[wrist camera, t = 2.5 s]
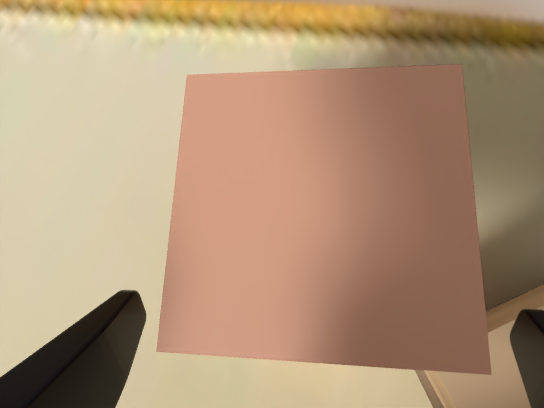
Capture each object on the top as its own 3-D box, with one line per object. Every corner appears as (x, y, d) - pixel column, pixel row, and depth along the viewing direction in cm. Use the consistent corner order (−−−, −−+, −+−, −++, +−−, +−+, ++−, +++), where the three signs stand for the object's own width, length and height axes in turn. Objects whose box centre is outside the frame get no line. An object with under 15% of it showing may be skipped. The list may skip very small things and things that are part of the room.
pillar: (368, 314, 17) (491, 375, 5) (266, 309, 18) (156, 351, 6) (366, 213, 18) (461, 64, 6) (270, 212, 19) (187, 75, 7)
